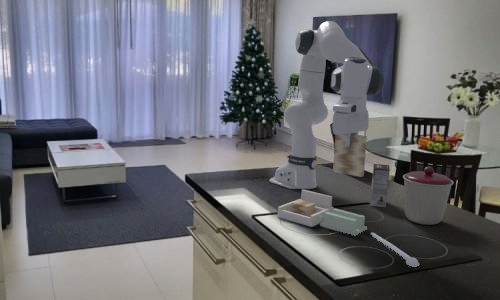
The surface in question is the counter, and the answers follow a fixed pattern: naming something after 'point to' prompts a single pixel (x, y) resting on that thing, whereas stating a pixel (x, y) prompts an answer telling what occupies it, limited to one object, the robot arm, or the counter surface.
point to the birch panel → (350, 155)
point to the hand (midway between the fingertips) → (350, 145)
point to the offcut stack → (303, 208)
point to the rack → (321, 207)
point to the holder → (344, 222)
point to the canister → (426, 196)
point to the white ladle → (398, 251)
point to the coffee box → (379, 185)
